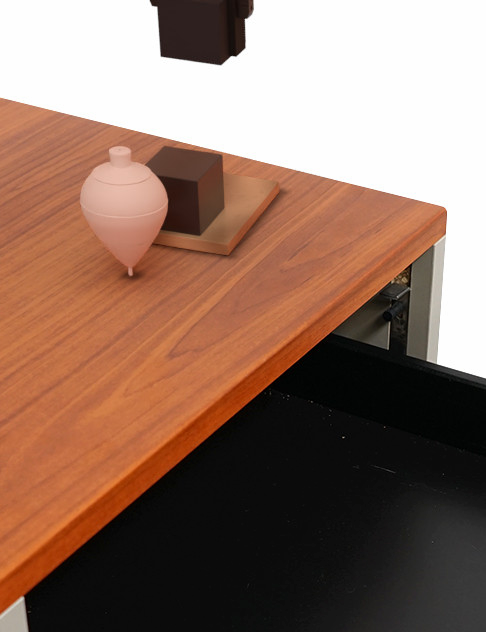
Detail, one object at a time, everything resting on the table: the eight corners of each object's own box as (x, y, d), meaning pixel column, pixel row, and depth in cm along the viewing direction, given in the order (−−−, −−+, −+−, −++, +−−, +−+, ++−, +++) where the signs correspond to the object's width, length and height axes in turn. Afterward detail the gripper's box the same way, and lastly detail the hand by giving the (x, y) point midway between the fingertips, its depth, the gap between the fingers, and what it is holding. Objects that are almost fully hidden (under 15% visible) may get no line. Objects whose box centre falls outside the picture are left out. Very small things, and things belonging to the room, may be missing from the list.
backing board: (110, 236, 135) (103, 170, 130) (170, 175, 147) (166, 112, 143) (228, 255, 133) (225, 188, 129) (279, 192, 145) (278, 129, 141)
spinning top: (111, 251, 132) (99, 127, 125) (186, 266, 131) (178, 141, 123) (73, 285, 126) (58, 157, 119) (150, 301, 125) (140, 172, 118)
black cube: (160, 57, 130) (156, -5, 127) (187, 34, 136) (183, -25, 132) (221, 65, 130) (218, 4, 126) (246, 43, 135) (244, -17, 131)
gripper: (309, -227, 120) (310, 48, 134) (102, -250, 122) (125, 22, 137) (282, -213, 114) (287, 73, 128) (65, -238, 116) (93, 45, 131)
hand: (203, 46), depth 132 cm, fingers closed on black cube, 6 cm apart
